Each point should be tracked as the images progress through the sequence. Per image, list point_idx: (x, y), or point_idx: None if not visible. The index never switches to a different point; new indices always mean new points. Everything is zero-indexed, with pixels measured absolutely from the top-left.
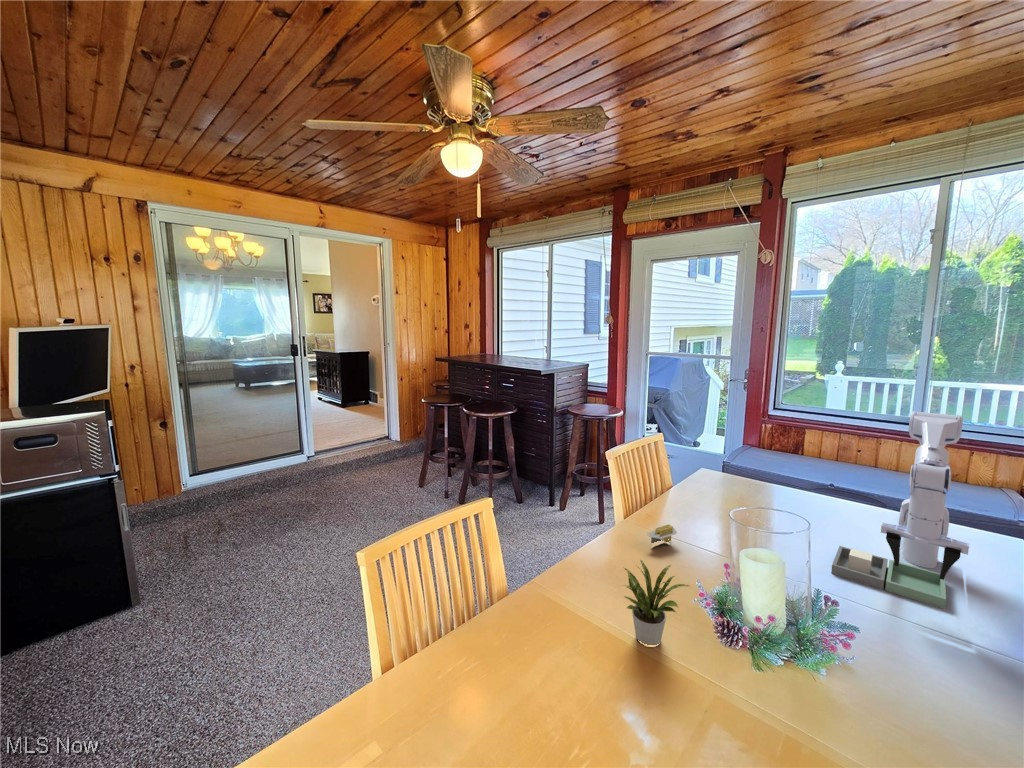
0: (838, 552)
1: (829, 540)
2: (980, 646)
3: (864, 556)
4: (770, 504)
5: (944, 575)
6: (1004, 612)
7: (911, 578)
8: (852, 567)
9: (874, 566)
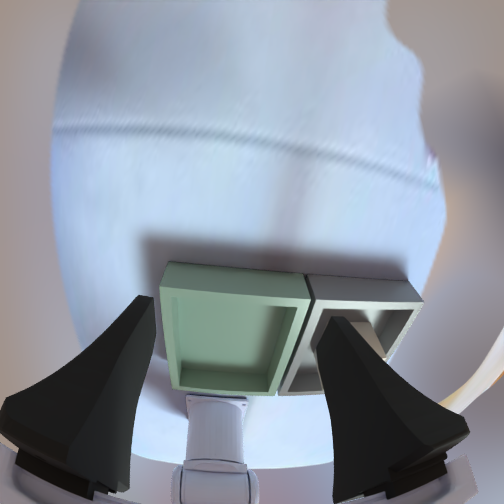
0: None
1: None
2: (102, 129)
3: None
4: None
5: (126, 310)
6: (84, 323)
7: (232, 362)
8: (366, 331)
9: (301, 368)
